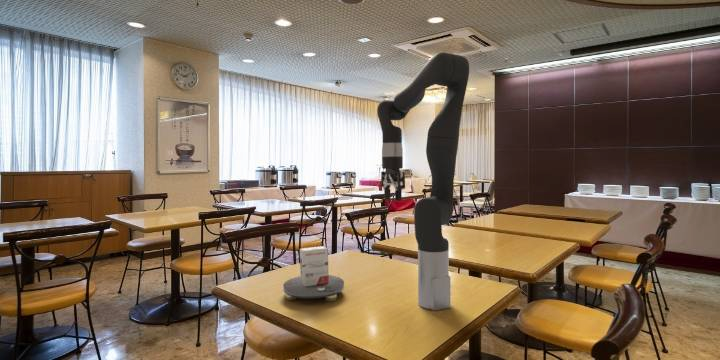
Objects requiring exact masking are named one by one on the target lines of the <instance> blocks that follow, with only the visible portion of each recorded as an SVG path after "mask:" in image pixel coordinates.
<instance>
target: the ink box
mask: <svg viewBox="0 0 720 360" xmlns="http://www.w3.org/2000/svg"><path fill="white" fill-rule="evenodd" d="M299 267H300V268H299V271H300V275H299V276H301V284H302V285H303V286H304V287H305V286H312V285H319V284H326V283H329V276H328V275H329V250H328V248H327V247H326V246H324V245H321V246H313V247H304V248H299Z"/></svg>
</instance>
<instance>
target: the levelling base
mask: <svg viewBox="0 0 720 360" xmlns="http://www.w3.org/2000/svg"><path fill="white" fill-rule="evenodd" d="M328 276H329V283H326V284H319V285H312V286H305V287H304V286H303V285H302V284H301V275H299V276H295V277H292V278H290V279H288V280H286V281H285V282H284V283H283V287H282V288H283V292H284V294H286V296H285V298H286V300H287V301H295V300H297V299H311V300H312V299H321V298H324V299H325V301H326V302H328V303H330V302H335V301H337V300H338V299H337V298H338V296H337V294H339V293H341V292H343V290H344V289H345V281H344V280H343V279H342V278H341V277H339V276H335V275H331V274H328Z"/></svg>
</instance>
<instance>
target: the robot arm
mask: <svg viewBox="0 0 720 360" xmlns="http://www.w3.org/2000/svg"><path fill="white" fill-rule="evenodd" d="M469 62H470V61H468V59H467V58H466V57H465V56H463V55H460V54H456V53H455V54H454V53H451V52H450V53H449V52H445V51H444V52H437V53H435V54H434V55H433V56H432V57H431V58H430V59H429V60H428V61H427V62H426V63H425V65H424V66H423V67H422V69H420V71H419V72H418V73H417V74H416V76H415V77H414V79H412V80H411V81H410V83H409V84H408V85H407V86H405V87H404V88H403V89H401V90H400V91H399V92H398V93H397V94H396V95H395V96H394V98H393V100H390V99H384V100H381V101H380V102H379V103H378V105H377V108H376V109H377V110H376V112H377V113H376V114H377V117H378V121H379V125H380V128H381V132H382V133H381V134H382V145H381V168H382V169H383V170H384V171H381V174H380V187H381V188H383V190H384V192H383V193H384V200H390V199H391V187H392V186H393V187H394V200H395V201H396V202H398V201H399V202H401V201H402V191H403V190H405V189H406V174H405V173H406V172H405V171H400V170H401V169H403V165H404V162H403V159H404V158H403V157H404V156H403V153H404V152H403V143H402V141H403V136H402V135H403V132H402V128H401V127H400V126H396V125H394V124H393V122H392V121H400V120H401V121H402V120H403V119H405V118H406V116H407V115H408V114H409V113H410V110H412V109H413V108H414V107H416V106H418V105H419V104H420V103H421V102H422V100H423V99H424V97H425V94H426V89H428V88H430V87H431V86H434V85H437V86H441V87H446V92H445V99H444V103H443V106H442V107H441V109H440V111H439V112H438V114H437V115H436V117H435V118H434V119H433V120H432V123H431V124H430V125H429V127H428V131H427V138H426V146H425V147H426V148H425V149H426V150H425V155H426V159H427V163H428V166H429V170H430V174H431V175H430V176H431V188H430V194H429V196H427V197H423V198H420V199H418V201H417V202H416V204H415V205H414V212H413V214H414V215H413V221H414V235H415V237H414V238H415V239H416V242H417V275H418V276H417V290H418V292H417V293H418V294H417V295H418V297H417V298H418V299H417V300H418V305H419V307H421V308H424V309H427V310H432V311H439V310H444V309H450V308H451V307H452V306H451V295H452V294H451V293H452V291H451V275H450V272H449V271H450V270H449V268H450V267H449V264H450V263H449V261H450V260H449V257H450V256H449V250H450V249H449V248H450V246H449V245H450V244H449V240H448V239H447V238H445V237H444V236H443V229H442V228H443V227H442V226H444V225H446V224H447V223H449V222H450V221H451V219H452V217H453V213H454V182H455V175H456V174H455V173H456V163H457V156H458V149H459V148H458V147H459V140H460V138H459V137H460V128H461V119H462V113H463V107H464V102H465V96H466V92H467V87H468V82H469V76H470V63H469Z"/></svg>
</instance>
